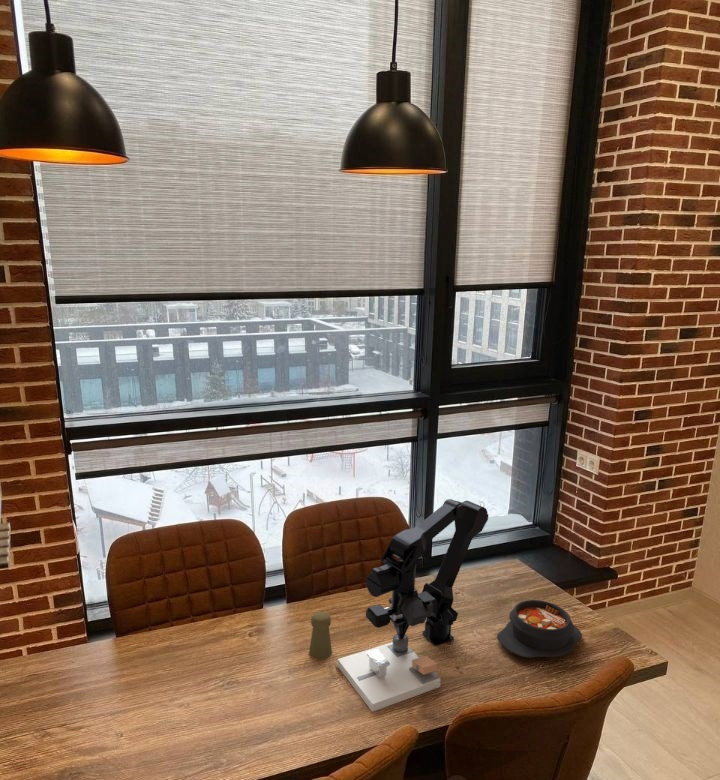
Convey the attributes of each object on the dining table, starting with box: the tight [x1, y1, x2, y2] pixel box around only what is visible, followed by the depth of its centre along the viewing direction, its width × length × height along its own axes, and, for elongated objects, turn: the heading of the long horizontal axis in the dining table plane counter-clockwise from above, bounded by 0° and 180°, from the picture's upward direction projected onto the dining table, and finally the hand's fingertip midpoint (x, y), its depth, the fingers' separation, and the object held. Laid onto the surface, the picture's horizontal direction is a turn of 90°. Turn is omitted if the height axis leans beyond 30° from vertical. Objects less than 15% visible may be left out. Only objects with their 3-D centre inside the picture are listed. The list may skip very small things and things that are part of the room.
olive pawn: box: [308, 611, 333, 661], centre depth 161 cm, size 6×6×11 cm
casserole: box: [496, 599, 583, 659], centre depth 169 cm, size 25×19×8 cm
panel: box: [337, 641, 442, 713], centre depth 153 cm, size 19×18×3 cm
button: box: [392, 633, 409, 653], centre depth 161 cm, size 4×4×3 cm
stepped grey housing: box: [367, 650, 390, 678], centre depth 151 cm, size 3×6×4 cm, turn 28°
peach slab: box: [412, 655, 438, 675], centre depth 151 cm, size 4×5×2 cm
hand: (400, 638), depth 161 cm, fingers closed, pressing on button
